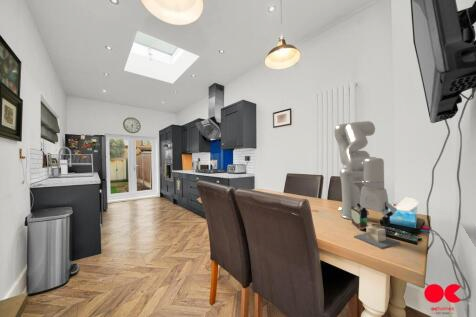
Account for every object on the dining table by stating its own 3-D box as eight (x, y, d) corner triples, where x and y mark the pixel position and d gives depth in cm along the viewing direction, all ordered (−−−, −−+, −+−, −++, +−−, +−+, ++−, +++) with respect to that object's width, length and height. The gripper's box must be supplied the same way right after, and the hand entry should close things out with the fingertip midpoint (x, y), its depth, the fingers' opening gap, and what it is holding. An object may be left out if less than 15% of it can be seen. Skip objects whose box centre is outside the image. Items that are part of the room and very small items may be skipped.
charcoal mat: (354, 237, 85) (354, 235, 85) (371, 233, 89) (371, 231, 89) (381, 248, 74) (381, 247, 74) (400, 243, 78) (400, 242, 78)
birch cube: (366, 237, 83) (366, 226, 83) (374, 235, 85) (373, 225, 85) (377, 242, 78) (377, 230, 78) (385, 240, 80) (385, 229, 80)
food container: (374, 232, 90) (373, 212, 90) (361, 231, 91) (360, 212, 91) (362, 223, 102) (362, 206, 102) (350, 223, 103) (350, 205, 104)
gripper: (350, 182, 89) (351, 216, 89) (389, 188, 73) (390, 230, 73) (361, 181, 91) (361, 214, 92) (401, 187, 75) (402, 227, 75)
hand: (374, 221), depth 82 cm, fingers open, 9 cm apart
